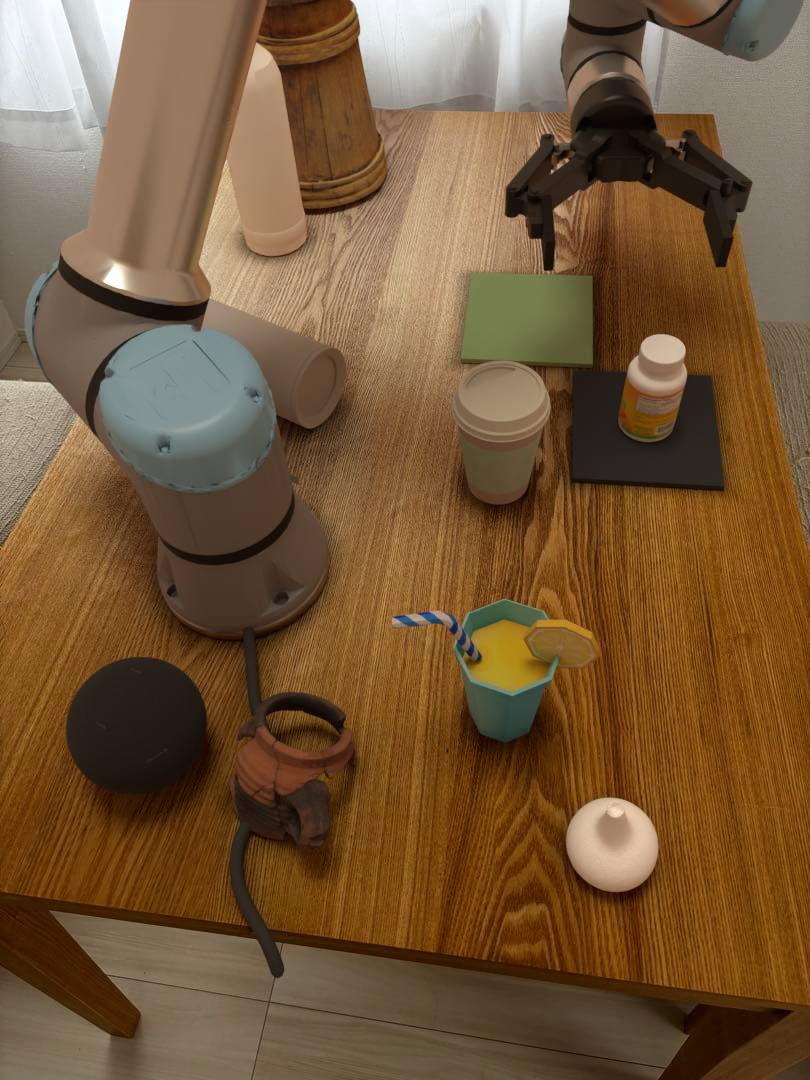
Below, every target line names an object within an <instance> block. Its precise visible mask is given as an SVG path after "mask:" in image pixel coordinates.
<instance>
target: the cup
mask: <svg viewBox="0 0 810 1080" xmlns="http://www.w3.org/2000/svg"><path fill="white" fill-rule="evenodd" d="M437 624H439V625H442V626H445V627H446V628H447V629H448V631H449V632H450V633H451V635H452V636H453V637H454V638H455V640H454V643H453V645H452V650H453V654H454V656H455V657H456V659H457V661H458V663H459V665H460V670H461V676H462V680H463V685H464V689H465V690H464V691H465V697H466V702H467V708H468V712H469V714H470V717H471V718H472V720H473V722H474V724H475V726H476V728H477V730H478V732H479V734H480V735H482V736H485V737H487V738H491V739H493V740H496V741H499V742H502V743H504V744H506V743H508V742H511V741H514V740H516V739H519V738H520V737H523V736H526V735H527V734H529V733H530V730H531V728H532V725H533V722H534V720H535V717H536V713H537V711H538V709H539V706H540V702H541V699H542V697H543V695H544V691H545V688H546V687H548V686H550V685H551V683H552V681H553V678H554V675H555V672H556V669H586V668H587V667H588V666H590V665H591V664H592V663H593V662H595V661H596V660H598V658H599V657H600V654H601V648H600V646H599V644H598V642H597V640H596V638H595V635H594V633H593V631H590V630H588V629H586V628H585V627H582V626H580V625H578V624H575V623H574V622H572V621H569V620H567V619H549V616H548V615H547V613H546V612H545V610H543V609H539V608H536V607H532V606H530V605H526V604H523V603H519V602H516V601H514V600H510V599H507V598H503V599H500V600H498V601H495V602H493V603H489V604H487V605H485V606H482V607H479V608H477V609H474V610H472V611H470V612H467V613H466V615H465V617H464V619H463V622H462V625H461V624H460V622H459V621H458V620H457V619H456V617H455V616H453V615H451V614H449V613H447V612H446V611H445V612H444V611H441V610H430V611H424V612H416V613H410V614H404V615H403V614H402V615H401V614H400V615H396V616H395V615H394V616H392V617H391V625H392V627H393V629H402V628H411V627H420V626H430V625H437Z"/></svg>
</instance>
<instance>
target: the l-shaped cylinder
mask: <svg viewBox="0 0 810 1080" xmlns="http://www.w3.org/2000/svg"><path fill="white" fill-rule="evenodd" d="M206 327H208V328H212V329H216V330H218V331H221V332H223V333H225V334H227V335H229V336H231V337H233V338H234V339H236V340H237V341H238V342H240V343H241V344H242V345H243V346H244V347H245V348H246V349H247V350H248V351H249V352H250V353H251V354H252V356H253V357H254V358H255V360H256V361H257V363H258V364H259V366H260V368H261V371H262V373H263V376H264V378H265V380H266V381H267V384H268V387H269V389H270V390H271V392H272V396H273V400H274V405H275V408H276V409H275V412H276V416H278V417H280V418H283V419H285V420H287V421H289V422H292V423H294V424H296V425H298V426H301V427H303V428H305V429H314V428H317V427H319V426H320V425H322V424H323V423H324V422H325V421H327V420H328V419H329V417H330V416H331V415H332V413H333V412H334V411H335V409H336V407H337V405H338V403H339V402H340V399H341V397H342V394H343V392H344V389H345V388H344V387H345V385H346V384H345V383H346V379H347V364H346V359H345V356H344V354H343V352H342V351H341V350H340V349H338V348H336V347H333V346H331V345H328V344H326V343H324V342H321V341H318V340H316V339H314V338H311V337H309V336H306V335H303V334H301V333H298V332H296V331H294V330H291V329H289V328H286V327H283V326H281V325H279V324H276V323H273V322H271V321H269V320H266V319H264V318H261V317H258V316H256V315H253V314H252V313H251V314H250V313H249V312H246V311H243V310H241V309H239V308H237V307H233V306H231V305H228V304H225V303H224V302H221V301H219V300H215V299H213V298H209V302H208V305H207V309H206V313H205V316H204V320H203V324H202V327H201V331H202V330H203V329H204V328H206Z"/></svg>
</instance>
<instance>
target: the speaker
mask: <svg viewBox="0 0 810 1080" xmlns="http://www.w3.org/2000/svg"><path fill="white" fill-rule="evenodd" d="M207 716H208V715H207V709H206V704H205V700H204V698H203V695H202V693H201V691H200V689H199V687H198V686H197V685H196V683H195V682H194V681H193V679H192V678H191V677H190V676H189V675H188V674H187V673H186V672H185V671H183V670H182V669H181V668H179V667H178V666H176V665H175V664H173V663H170V662H168V661H166V660H163V659H159V658H155V657H151V656H150V657H149V656H132V657H126V658H121V659H118V660H114V661H112V662H110V663H108V664H106V665H104V666H102V667H101V668H99V669H98V670H96V671H95V672H94V673H93V674H91V675H90V676H89V677H88V678H86V680H85V681H84V682H83V683H82V684H81V686H80V687H79V688H78V690H77V691H76V693H75V695H74V696H73V699H72V700H71V703H70V706H69V708H68V712H67V715H66V721H65V722H66V723H65V737H66V738H65V739H66V743H67V748H68V751H69V754H70V756H71V758H72V761H73V762H74V763H75V765H76V767H77V769H79V771H80V773H82V774H83V775H84V777H86V778H87V779H88V780H90V781H91V782H92V783H93V784H95V785H97V786H98V787H100V788H101V789H104V790H107V791H109V792H112V793H116V794H119V795H120V794H121V795H143V794H148V793H152V792H156V791H159V790H161V789H164V788H165V787H168V786H169V785H171V784H172V783H174V782H175V781H177V780H178V779H180V778H181V777H182V776H183V775H184V774H185V773H186V772H187V771H188V770H189V769H190V768H191V767H192V765H193V764H194V763H195V761H196V759H197V758H198V756H199V754H200V753H201V750H202V748H203V745H204V743H205V739H206V735H207V728H208V726H207V725H208V717H207Z"/></svg>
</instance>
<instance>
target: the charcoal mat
mask: <svg viewBox="0 0 810 1080" xmlns="http://www.w3.org/2000/svg"><path fill="white" fill-rule="evenodd" d="M626 376H627V371H611V370H608V371H607V370H584V369H573V373H572V426H571V427H572V431H571V433H572V434H571V435H572V437H571V482H572V483H588V484H589V483H591V484H606V485H623V486H624V485H625V486H641V487H656V488H657V487H659V488H678V489H694V490H709V491H724V490H725V486H726V485H725V476H724V470H723V462H722V461H723V460H722V453H721V452H722V451H721V445H720V437H719V436H720V435H719V429H718V420H717V411H716V405H715V404H716V403H715V395H714V388H713V387H714V386H713V379H712V375H705V374H704V375H703V374H687V379H686V383H685V387H684V391H683V394H682V398H681V402H680V405H679V409H678V413H677V416H676V420H675V424H674V427H673V430H672V431H671V433H670V434H669V435H668V436H667V437H666V438H664V439H662V440H659V441H656V442H641V441H637V440H634V439H632V438H630V437H628V436H627V435H626V434H625V433H624V432H623V431H622V430H621V428H620V426H619V422H618V417H619V411H620V406H621V401H622V396H623V391H624V386H625V381H626Z"/></svg>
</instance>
